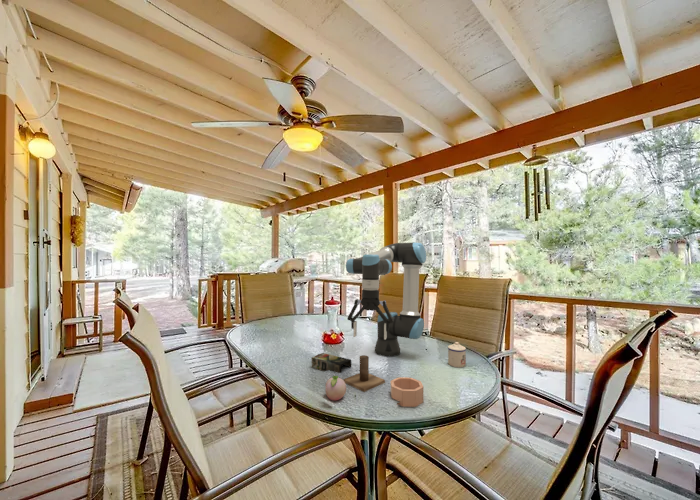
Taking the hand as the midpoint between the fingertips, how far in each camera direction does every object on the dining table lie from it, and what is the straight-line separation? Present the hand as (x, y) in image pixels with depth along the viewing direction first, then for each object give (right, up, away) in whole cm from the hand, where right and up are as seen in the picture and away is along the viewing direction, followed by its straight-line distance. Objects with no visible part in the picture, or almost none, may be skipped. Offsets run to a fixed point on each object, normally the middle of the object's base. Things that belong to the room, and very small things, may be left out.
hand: (369, 337), depth 133 cm
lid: (-3, -20, 0) cm, 20 cm away
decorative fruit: (-14, -21, -14) cm, 29 cm away
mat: (-3, -21, 0) cm, 21 cm away
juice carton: (-19, -22, +20) cm, 35 cm away
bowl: (+14, -21, -12) cm, 28 cm away
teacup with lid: (+48, -22, +26) cm, 59 cm away
